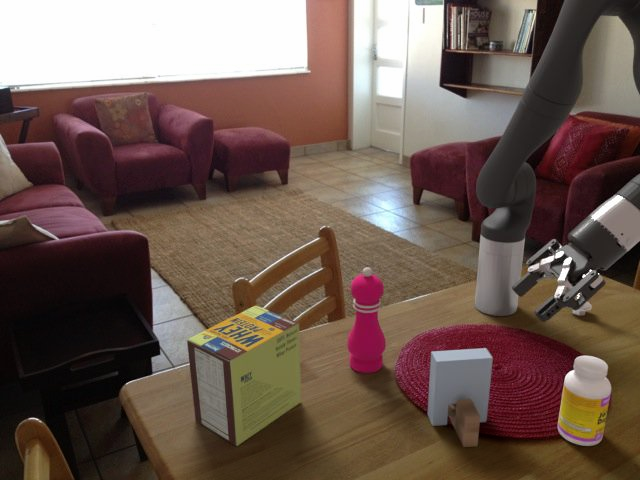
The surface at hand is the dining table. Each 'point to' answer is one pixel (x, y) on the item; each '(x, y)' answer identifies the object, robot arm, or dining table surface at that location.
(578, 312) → the screw
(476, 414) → the wooden notched block
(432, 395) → the pale blue notched block
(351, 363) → the pepper mill
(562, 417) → the supplement bottle
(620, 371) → the dining table surface
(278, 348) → the protein box
